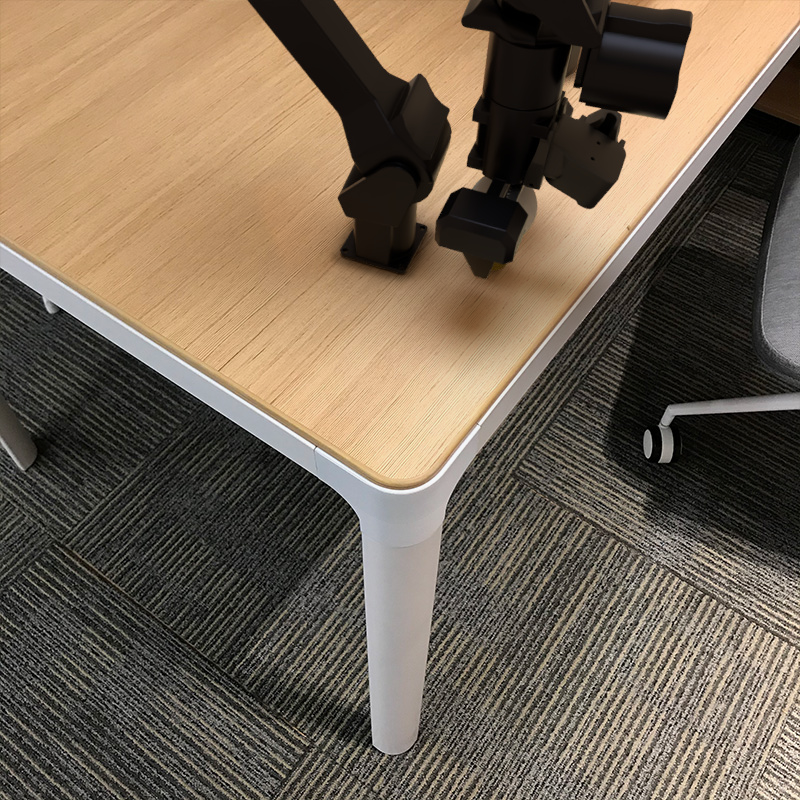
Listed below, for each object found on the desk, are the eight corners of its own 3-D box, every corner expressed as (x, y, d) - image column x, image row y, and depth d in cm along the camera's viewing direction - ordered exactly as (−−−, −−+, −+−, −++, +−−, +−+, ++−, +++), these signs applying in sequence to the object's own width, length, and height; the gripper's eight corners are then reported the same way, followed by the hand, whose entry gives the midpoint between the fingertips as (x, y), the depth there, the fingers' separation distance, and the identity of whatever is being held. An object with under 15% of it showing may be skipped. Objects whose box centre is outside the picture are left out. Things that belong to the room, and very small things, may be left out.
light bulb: (449, 252, 71) (459, 163, 63) (507, 238, 73) (523, 149, 64) (475, 297, 68) (488, 210, 60) (534, 280, 69) (555, 193, 61)
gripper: (603, 196, 49) (556, 348, 62) (656, 46, 59) (606, 204, 72) (439, 152, 51) (426, 309, 64) (517, 15, 61) (492, 174, 74)
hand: (494, 246), depth 68 cm, fingers open, 8 cm apart
